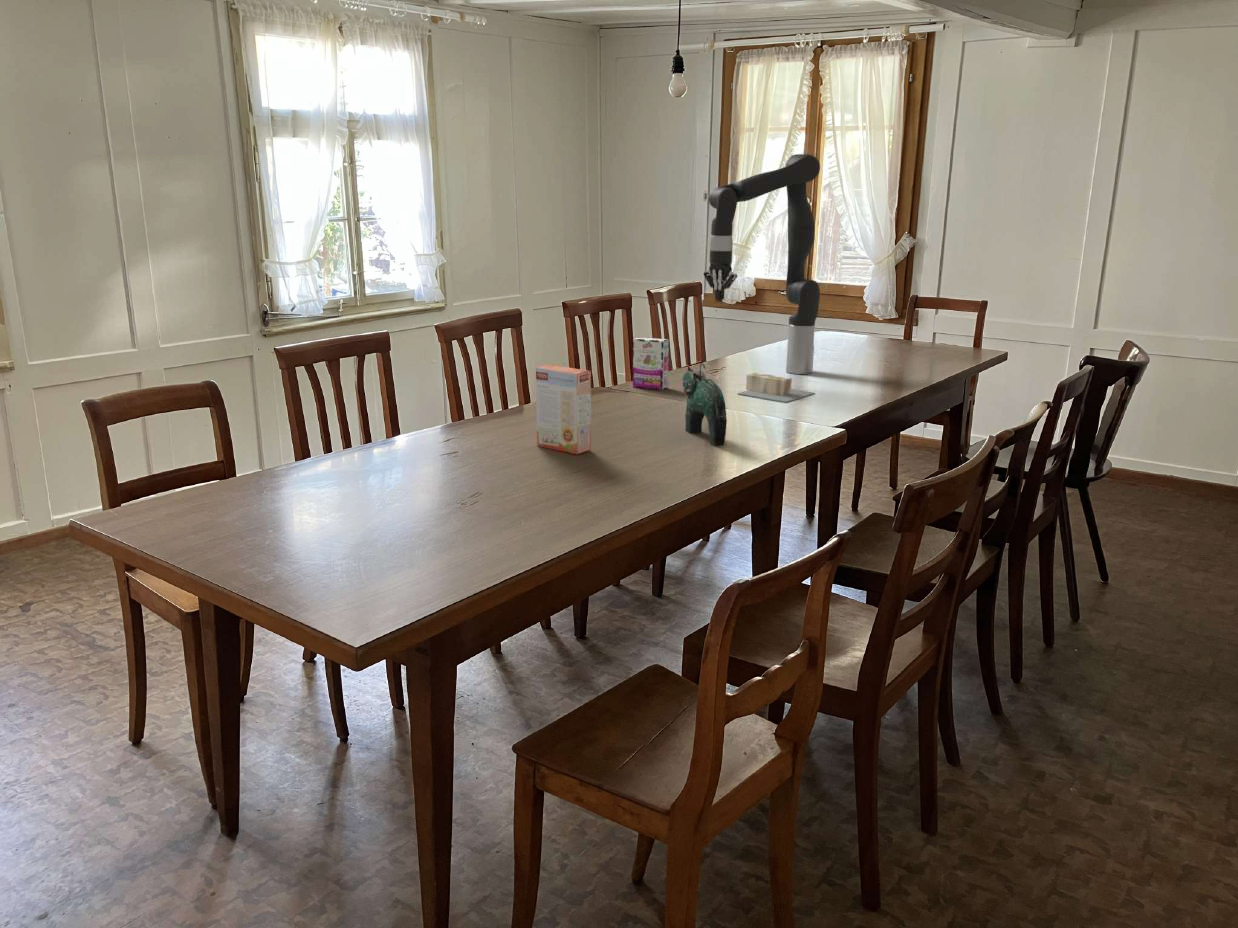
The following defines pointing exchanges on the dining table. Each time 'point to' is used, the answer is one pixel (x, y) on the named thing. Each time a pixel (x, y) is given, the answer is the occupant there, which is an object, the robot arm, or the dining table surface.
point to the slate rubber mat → (787, 398)
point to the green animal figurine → (704, 405)
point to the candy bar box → (650, 363)
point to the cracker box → (563, 408)
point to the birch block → (768, 384)
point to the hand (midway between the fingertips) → (719, 301)
